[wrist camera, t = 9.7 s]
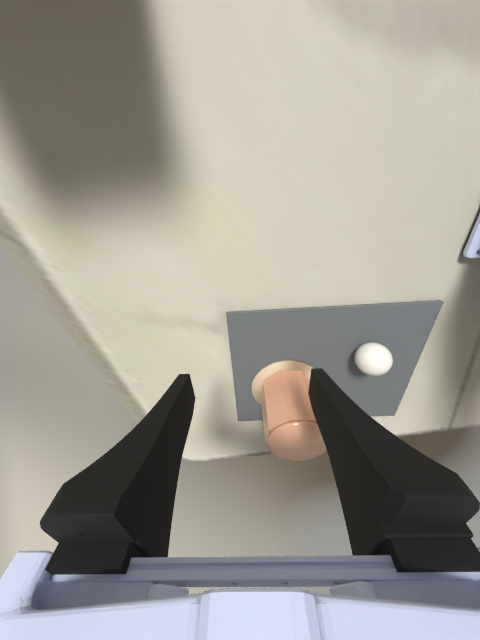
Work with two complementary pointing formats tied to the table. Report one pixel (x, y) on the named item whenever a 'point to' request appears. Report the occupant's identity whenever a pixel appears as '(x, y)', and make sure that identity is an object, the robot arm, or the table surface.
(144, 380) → the table surface
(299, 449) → the cup
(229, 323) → the placemat
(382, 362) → the ball
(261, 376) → the coaster
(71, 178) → the table surface
